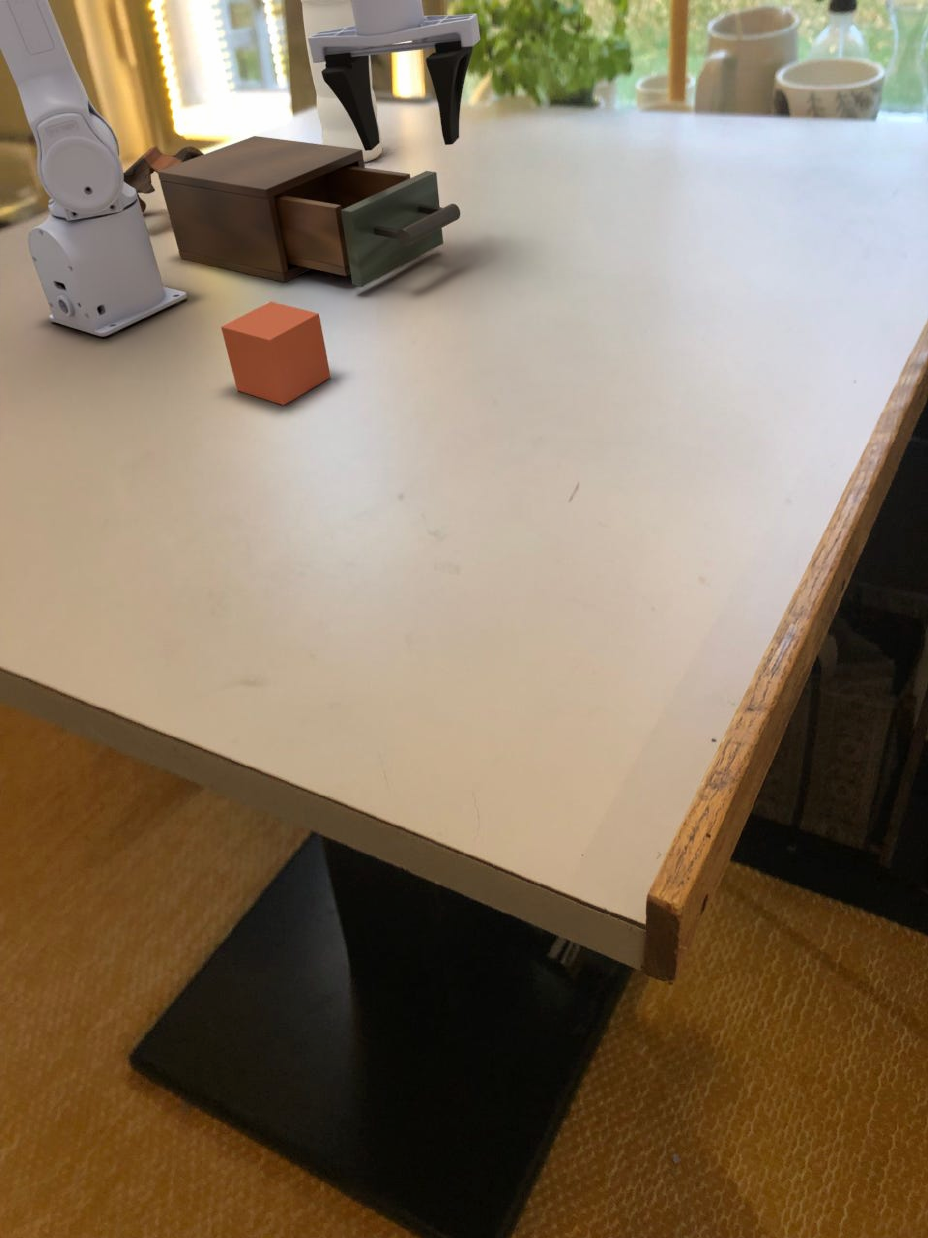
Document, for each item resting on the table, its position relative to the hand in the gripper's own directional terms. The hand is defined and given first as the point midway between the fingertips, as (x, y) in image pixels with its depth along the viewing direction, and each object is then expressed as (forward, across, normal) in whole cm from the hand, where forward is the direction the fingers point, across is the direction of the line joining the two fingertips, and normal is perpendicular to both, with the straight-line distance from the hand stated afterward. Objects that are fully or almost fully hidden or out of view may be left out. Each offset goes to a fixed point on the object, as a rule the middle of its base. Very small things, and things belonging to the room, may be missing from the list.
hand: (411, 143), depth 87 cm
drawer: (+8, +4, +5) cm, 10 cm away
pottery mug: (+8, +32, -7) cm, 34 cm away
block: (+8, +2, +28) cm, 29 cm away
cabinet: (+8, +16, +1) cm, 18 cm away
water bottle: (+10, +20, -29) cm, 37 cm away
